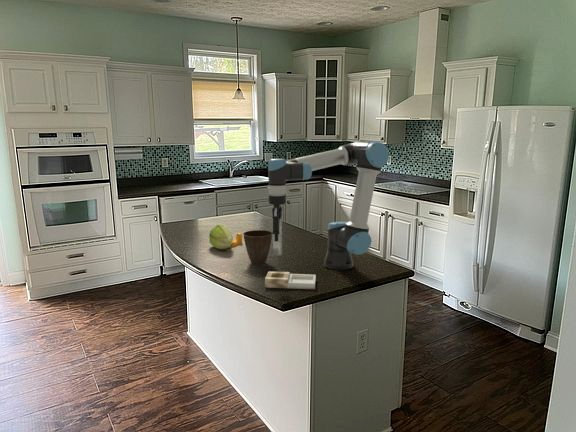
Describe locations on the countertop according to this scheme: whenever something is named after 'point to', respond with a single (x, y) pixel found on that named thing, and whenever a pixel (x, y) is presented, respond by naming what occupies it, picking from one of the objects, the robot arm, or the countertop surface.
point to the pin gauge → (279, 250)
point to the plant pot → (258, 245)
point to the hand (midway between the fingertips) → (277, 246)
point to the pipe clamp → (237, 240)
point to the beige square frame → (277, 279)
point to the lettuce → (220, 237)
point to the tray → (302, 281)
